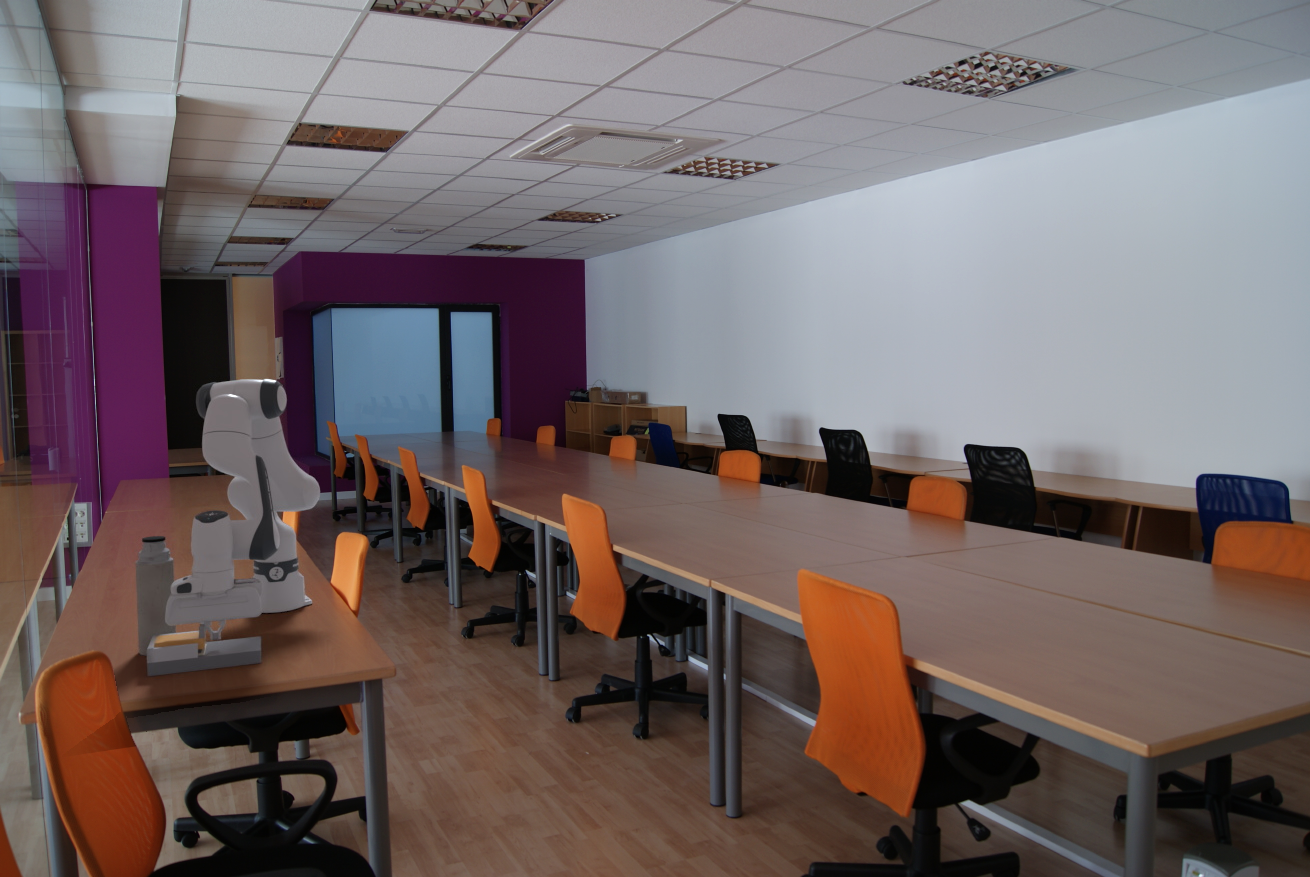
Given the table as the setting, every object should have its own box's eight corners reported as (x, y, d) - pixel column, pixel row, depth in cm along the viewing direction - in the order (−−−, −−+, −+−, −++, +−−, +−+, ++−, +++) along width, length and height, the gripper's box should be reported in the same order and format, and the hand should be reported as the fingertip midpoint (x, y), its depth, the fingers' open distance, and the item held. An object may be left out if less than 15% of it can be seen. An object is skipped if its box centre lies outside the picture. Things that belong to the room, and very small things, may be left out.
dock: (154, 660, 204) (153, 635, 203) (261, 648, 213) (260, 624, 213) (147, 676, 193) (146, 649, 192) (261, 662, 202) (260, 637, 202)
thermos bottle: (150, 645, 215) (146, 534, 213) (182, 645, 215) (179, 534, 213) (132, 655, 207) (127, 540, 205) (165, 655, 207) (161, 540, 205)
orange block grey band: (157, 650, 201) (157, 625, 201) (206, 645, 205) (205, 620, 205) (154, 658, 196) (153, 632, 195) (204, 652, 200) (203, 627, 199)
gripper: (262, 574, 209) (263, 630, 210) (165, 582, 201) (167, 640, 202) (262, 579, 204) (264, 637, 205) (163, 588, 195) (165, 648, 196)
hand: (215, 639), depth 203 cm, fingers closed
